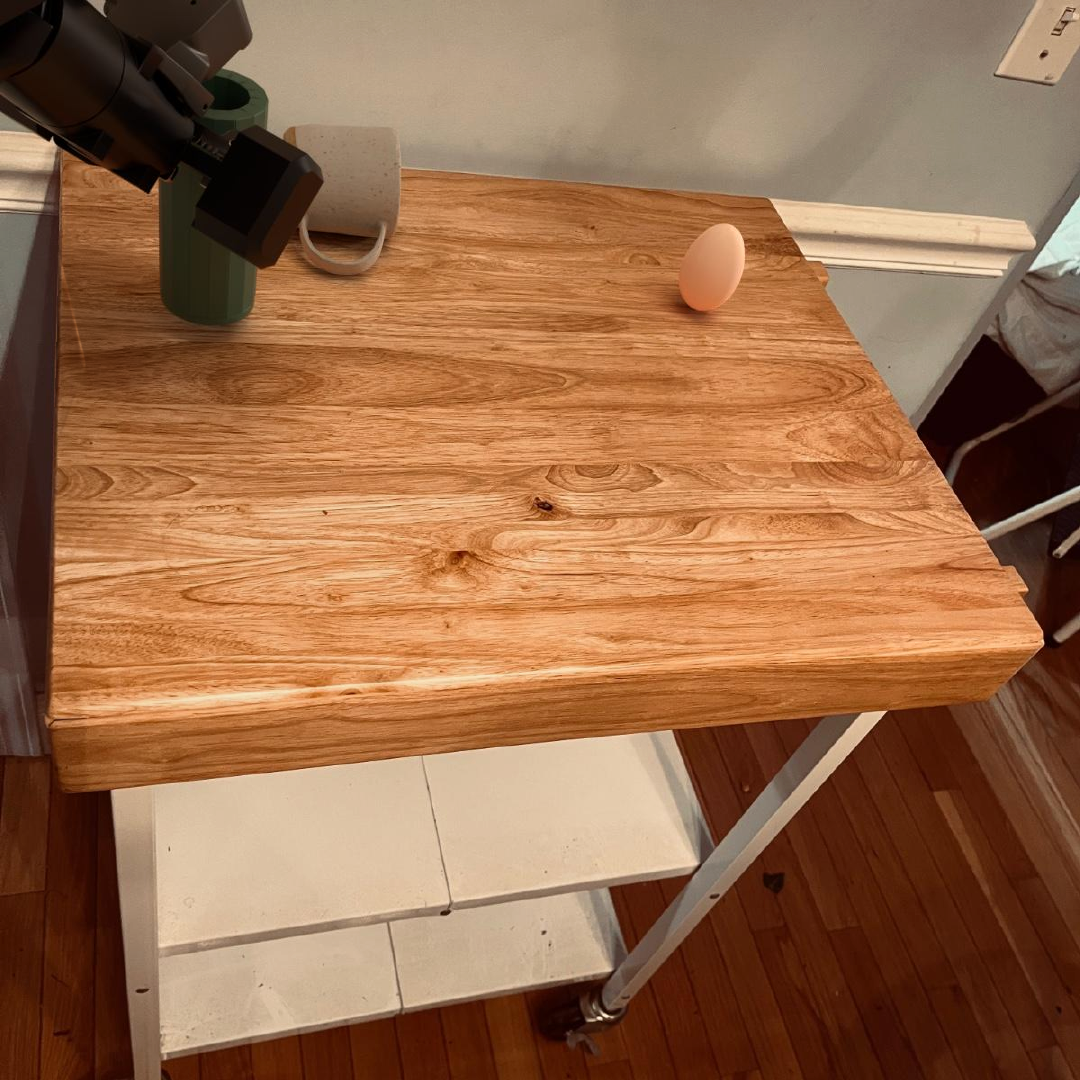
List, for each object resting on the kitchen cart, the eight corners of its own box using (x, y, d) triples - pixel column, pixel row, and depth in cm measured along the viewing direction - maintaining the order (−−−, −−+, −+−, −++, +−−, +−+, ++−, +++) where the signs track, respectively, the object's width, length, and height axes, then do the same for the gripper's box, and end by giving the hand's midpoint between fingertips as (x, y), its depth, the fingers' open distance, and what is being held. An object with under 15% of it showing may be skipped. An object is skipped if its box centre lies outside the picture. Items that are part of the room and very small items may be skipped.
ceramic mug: (276, 189, 81) (282, 95, 76) (383, 199, 84) (397, 108, 78) (285, 277, 75) (293, 181, 69) (400, 285, 78) (417, 193, 72)
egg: (734, 322, 85) (771, 243, 79) (687, 328, 83) (721, 247, 77) (704, 285, 87) (737, 206, 82) (657, 290, 85) (688, 209, 80)
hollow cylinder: (193, 336, 66) (197, 127, 56) (142, 284, 68) (137, 73, 58) (272, 311, 70) (288, 109, 60) (221, 262, 72) (229, 59, 62)
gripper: (318, 1, 48) (419, 149, 63) (7, -164, 51) (175, 14, 66) (191, 217, 48) (322, 312, 63) (-109, 39, 52) (85, 170, 67)
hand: (226, 195), depth 65 cm, fingers closed on hollow cylinder, 6 cm apart
